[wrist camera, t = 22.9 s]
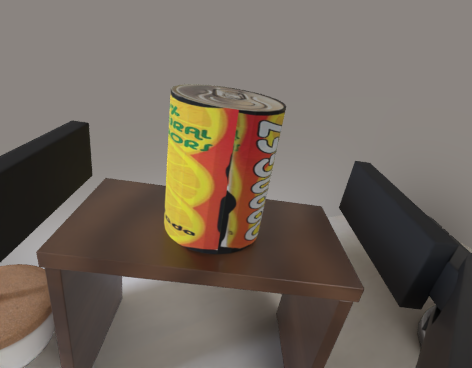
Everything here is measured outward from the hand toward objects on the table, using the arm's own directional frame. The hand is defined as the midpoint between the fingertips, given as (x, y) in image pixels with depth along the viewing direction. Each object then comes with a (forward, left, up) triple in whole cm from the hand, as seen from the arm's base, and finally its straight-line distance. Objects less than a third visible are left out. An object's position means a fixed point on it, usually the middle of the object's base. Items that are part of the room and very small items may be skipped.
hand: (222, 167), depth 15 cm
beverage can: (-2, -10, -10) cm, 15 cm away
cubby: (-2, -10, -29) cm, 31 cm away
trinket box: (+18, -12, -29) cm, 36 cm away
